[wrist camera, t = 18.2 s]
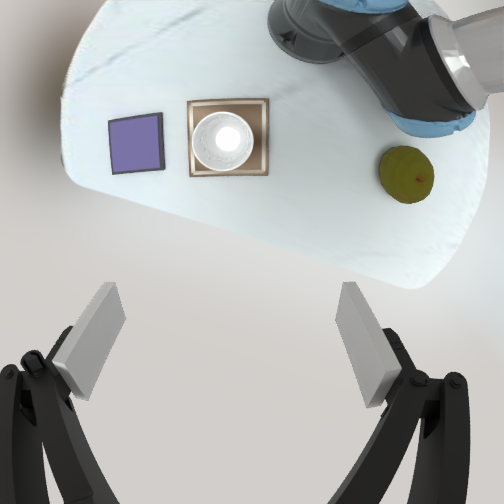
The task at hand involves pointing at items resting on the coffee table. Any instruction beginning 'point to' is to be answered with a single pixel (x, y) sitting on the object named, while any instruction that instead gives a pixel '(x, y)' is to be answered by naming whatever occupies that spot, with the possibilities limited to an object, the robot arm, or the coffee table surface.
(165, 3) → the coffee table surface
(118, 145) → the ink pad
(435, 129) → the robot arm
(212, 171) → the brown square coaster
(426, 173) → the apple
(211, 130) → the white cup
